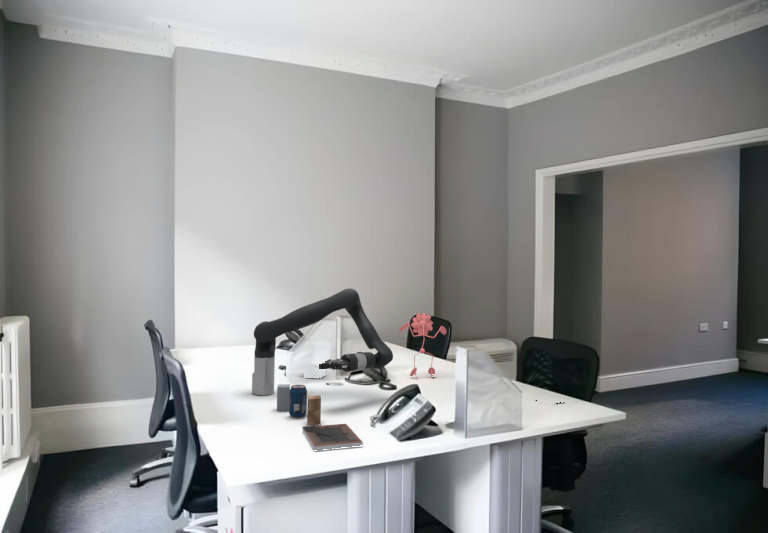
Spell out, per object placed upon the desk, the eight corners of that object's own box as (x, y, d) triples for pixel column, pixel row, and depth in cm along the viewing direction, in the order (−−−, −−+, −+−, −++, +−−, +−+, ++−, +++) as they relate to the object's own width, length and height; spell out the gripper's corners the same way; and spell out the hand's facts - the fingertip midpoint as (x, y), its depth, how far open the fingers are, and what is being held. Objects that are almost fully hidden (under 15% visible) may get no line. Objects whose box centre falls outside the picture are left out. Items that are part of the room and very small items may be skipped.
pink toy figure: (448, 379, 291) (448, 314, 291) (401, 380, 286) (402, 314, 286) (439, 373, 306) (440, 311, 306) (394, 375, 301) (395, 312, 301)
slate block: (276, 411, 222) (277, 387, 222) (277, 408, 227) (277, 384, 227) (289, 411, 223) (289, 387, 223) (289, 408, 228) (289, 384, 228)
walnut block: (307, 425, 205) (307, 398, 205) (307, 421, 210) (307, 395, 210) (320, 424, 206) (321, 398, 206) (320, 421, 211) (320, 395, 210)
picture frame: (302, 433, 197) (314, 453, 177) (302, 426, 197) (314, 445, 177) (346, 429, 203) (362, 448, 182) (346, 423, 203) (362, 441, 182)
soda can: (291, 413, 220) (291, 383, 220) (308, 413, 220) (308, 384, 220) (287, 418, 213) (288, 387, 213) (304, 418, 213) (305, 388, 213)
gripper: (344, 351, 239) (311, 355, 228) (363, 355, 229) (329, 360, 218) (344, 368, 239) (311, 373, 228) (362, 373, 229) (329, 378, 218)
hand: (320, 366), depth 223 cm, fingers closed
